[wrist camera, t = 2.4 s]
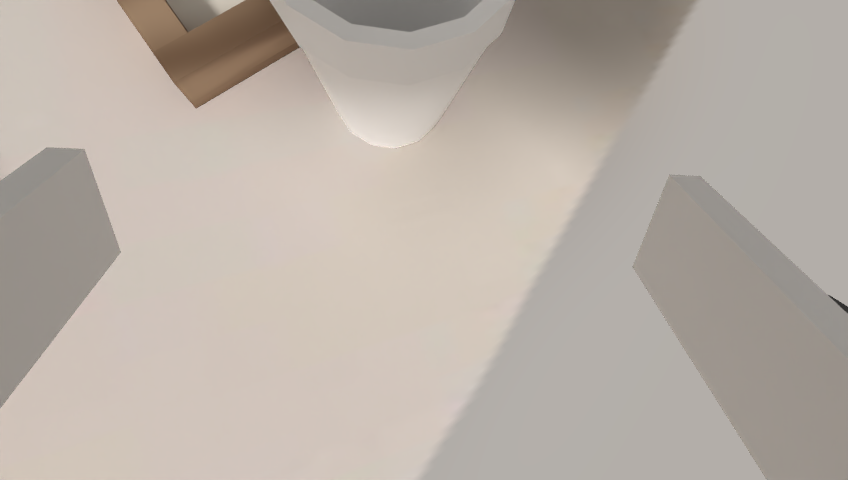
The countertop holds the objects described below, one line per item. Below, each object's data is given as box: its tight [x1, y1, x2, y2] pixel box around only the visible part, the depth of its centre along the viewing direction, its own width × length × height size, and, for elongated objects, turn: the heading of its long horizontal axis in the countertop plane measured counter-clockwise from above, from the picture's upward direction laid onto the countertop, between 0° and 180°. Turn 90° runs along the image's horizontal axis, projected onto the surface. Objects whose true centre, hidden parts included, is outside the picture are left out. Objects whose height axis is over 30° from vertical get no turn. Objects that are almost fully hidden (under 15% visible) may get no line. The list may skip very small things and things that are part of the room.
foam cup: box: [270, 0, 515, 148], centre depth 22 cm, size 10×9×13 cm
